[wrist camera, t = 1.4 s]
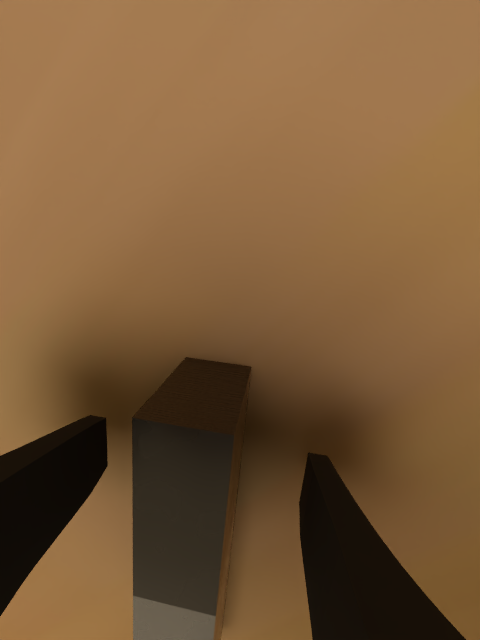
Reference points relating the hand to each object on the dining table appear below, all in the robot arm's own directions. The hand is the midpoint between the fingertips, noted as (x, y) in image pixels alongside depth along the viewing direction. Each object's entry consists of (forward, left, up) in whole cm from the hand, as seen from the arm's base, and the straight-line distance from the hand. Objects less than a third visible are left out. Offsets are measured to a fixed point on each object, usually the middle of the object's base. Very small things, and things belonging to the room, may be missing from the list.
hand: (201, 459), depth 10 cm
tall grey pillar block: (0, +4, -2) cm, 4 cm away
